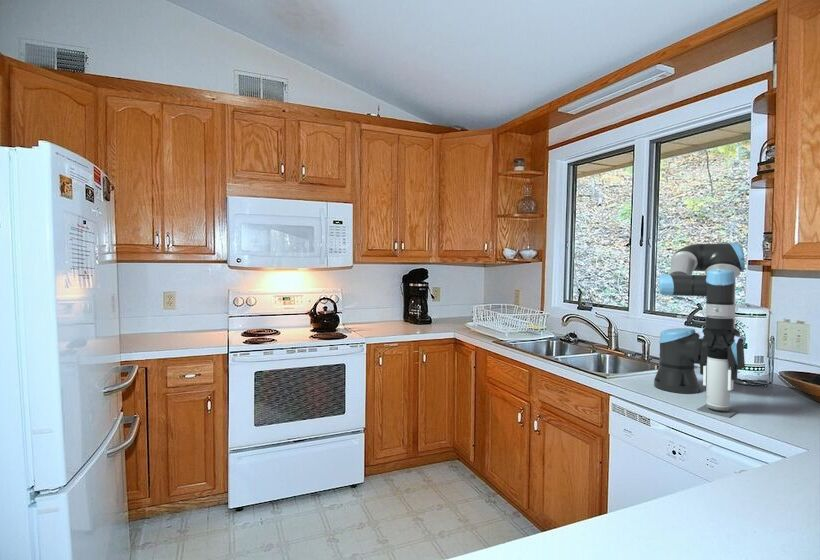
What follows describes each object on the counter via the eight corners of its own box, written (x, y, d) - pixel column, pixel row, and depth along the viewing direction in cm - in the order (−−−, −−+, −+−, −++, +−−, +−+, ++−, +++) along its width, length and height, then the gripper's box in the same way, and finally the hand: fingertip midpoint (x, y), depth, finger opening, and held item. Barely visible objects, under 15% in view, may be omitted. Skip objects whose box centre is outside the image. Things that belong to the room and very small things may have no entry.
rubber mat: (706, 405, 148) (706, 404, 148) (737, 412, 141) (737, 411, 141) (697, 410, 143) (697, 409, 143) (729, 417, 136) (729, 416, 136)
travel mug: (700, 406, 144) (702, 346, 143) (714, 403, 146) (715, 345, 146) (720, 412, 138) (721, 350, 137) (733, 409, 141) (735, 348, 140)
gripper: (682, 315, 146) (680, 382, 147) (752, 321, 131) (750, 396, 132) (691, 313, 151) (689, 379, 152) (759, 319, 136) (757, 391, 137)
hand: (717, 386), depth 142 cm, fingers closed on travel mug, 6 cm apart
